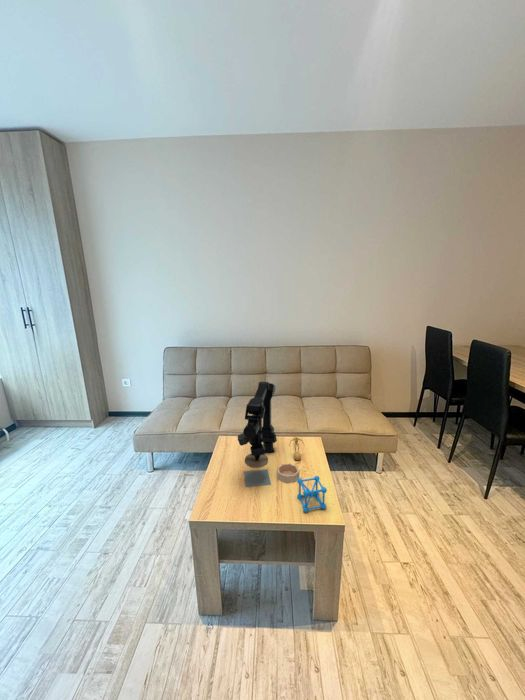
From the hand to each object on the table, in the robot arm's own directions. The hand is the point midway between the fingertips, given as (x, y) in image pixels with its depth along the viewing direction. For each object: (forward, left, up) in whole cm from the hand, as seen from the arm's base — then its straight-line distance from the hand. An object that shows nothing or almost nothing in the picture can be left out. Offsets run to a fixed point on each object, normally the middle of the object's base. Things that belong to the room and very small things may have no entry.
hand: (256, 458), depth 142 cm
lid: (0, 0, -1) cm, 1 cm away
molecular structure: (+20, +21, -11) cm, 31 cm away
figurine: (-14, +23, -11) cm, 29 cm away
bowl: (+1, +15, -11) cm, 19 cm away
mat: (0, 0, -11) cm, 11 cm away
